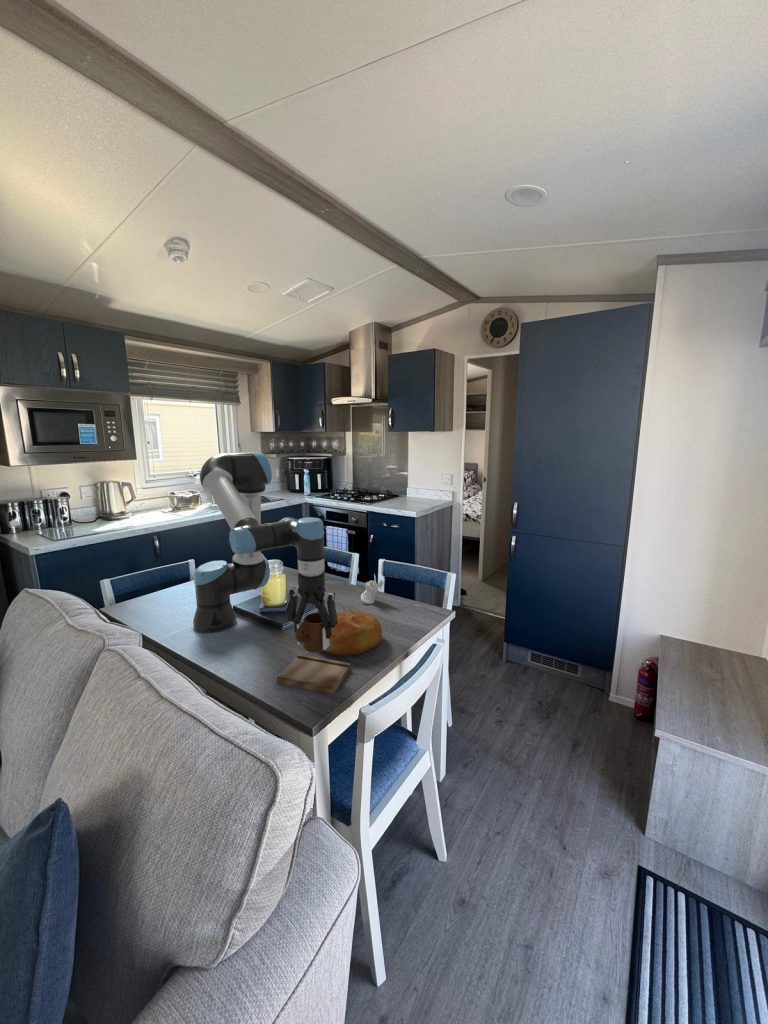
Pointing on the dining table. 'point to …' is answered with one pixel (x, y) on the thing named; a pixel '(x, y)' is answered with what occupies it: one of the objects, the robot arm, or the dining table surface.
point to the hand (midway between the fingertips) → (313, 645)
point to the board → (314, 673)
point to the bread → (354, 633)
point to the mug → (311, 633)
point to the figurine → (371, 591)
